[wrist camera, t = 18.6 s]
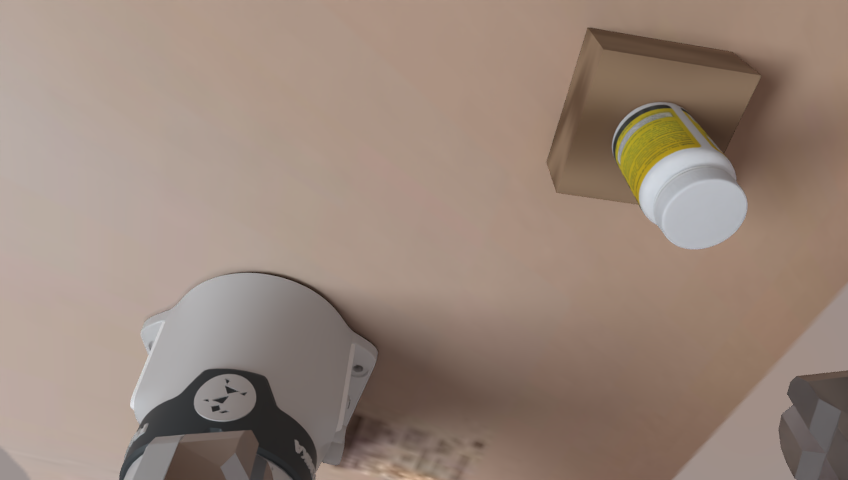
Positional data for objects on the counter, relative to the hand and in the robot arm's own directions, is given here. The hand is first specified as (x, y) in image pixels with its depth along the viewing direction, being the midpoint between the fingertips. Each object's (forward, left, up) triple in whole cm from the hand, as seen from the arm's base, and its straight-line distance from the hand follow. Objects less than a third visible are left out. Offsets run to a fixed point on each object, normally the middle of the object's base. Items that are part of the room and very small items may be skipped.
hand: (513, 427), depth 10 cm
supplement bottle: (-6, -13, -27) cm, 31 cm away
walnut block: (-6, -13, -31) cm, 34 cm away
